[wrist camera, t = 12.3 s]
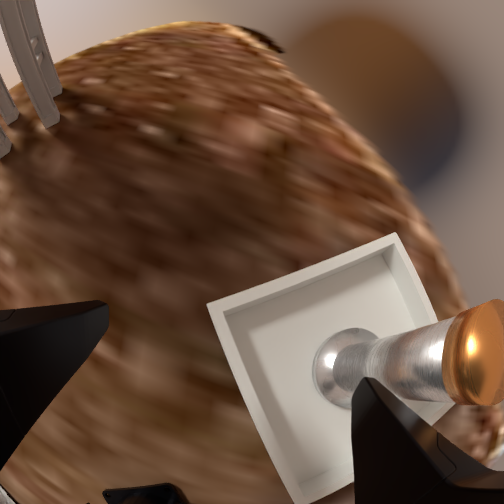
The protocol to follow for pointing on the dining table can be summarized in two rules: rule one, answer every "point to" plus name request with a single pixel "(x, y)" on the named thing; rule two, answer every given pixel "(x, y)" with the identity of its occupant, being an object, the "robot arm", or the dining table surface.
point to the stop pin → (420, 360)
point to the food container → (5, 497)
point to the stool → (27, 65)
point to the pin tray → (305, 347)
